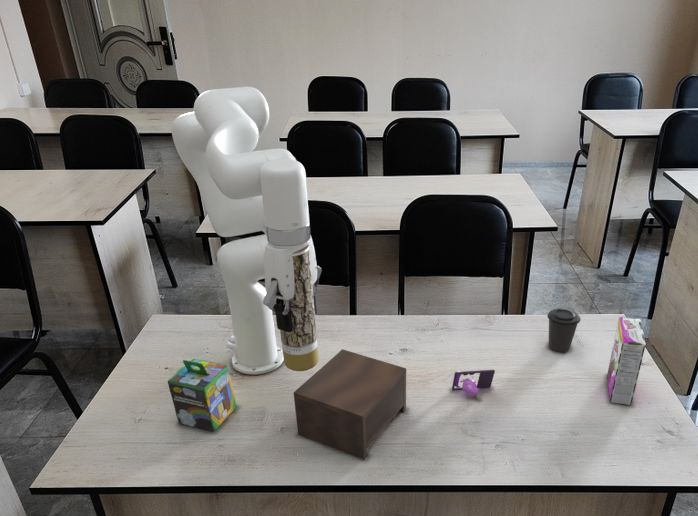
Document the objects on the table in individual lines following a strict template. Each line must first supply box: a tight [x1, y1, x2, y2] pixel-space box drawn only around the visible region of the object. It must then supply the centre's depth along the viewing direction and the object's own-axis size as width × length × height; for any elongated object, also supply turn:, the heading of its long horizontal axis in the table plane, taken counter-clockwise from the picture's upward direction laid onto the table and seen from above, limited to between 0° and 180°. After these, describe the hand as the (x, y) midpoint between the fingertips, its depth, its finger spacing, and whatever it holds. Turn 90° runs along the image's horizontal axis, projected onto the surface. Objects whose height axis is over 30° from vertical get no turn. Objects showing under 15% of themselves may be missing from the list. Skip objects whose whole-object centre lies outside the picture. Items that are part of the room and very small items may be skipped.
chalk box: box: [167, 358, 238, 433], centre depth 127 cm, size 9×9×15 cm
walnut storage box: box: [293, 348, 407, 461], centre depth 126 cm, size 16×18×11 cm
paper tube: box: [278, 244, 319, 372], centre depth 113 cm, size 7×7×25 cm
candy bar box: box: [606, 316, 647, 406], centre depth 135 cm, size 11×5×16 cm, turn 167°
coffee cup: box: [546, 307, 582, 354], centre depth 152 cm, size 8×8×10 cm
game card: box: [451, 369, 496, 401], centre depth 136 cm, size 7×5×9 cm
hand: (297, 320), depth 115 cm, fingers closed on paper tube, 6 cm apart
